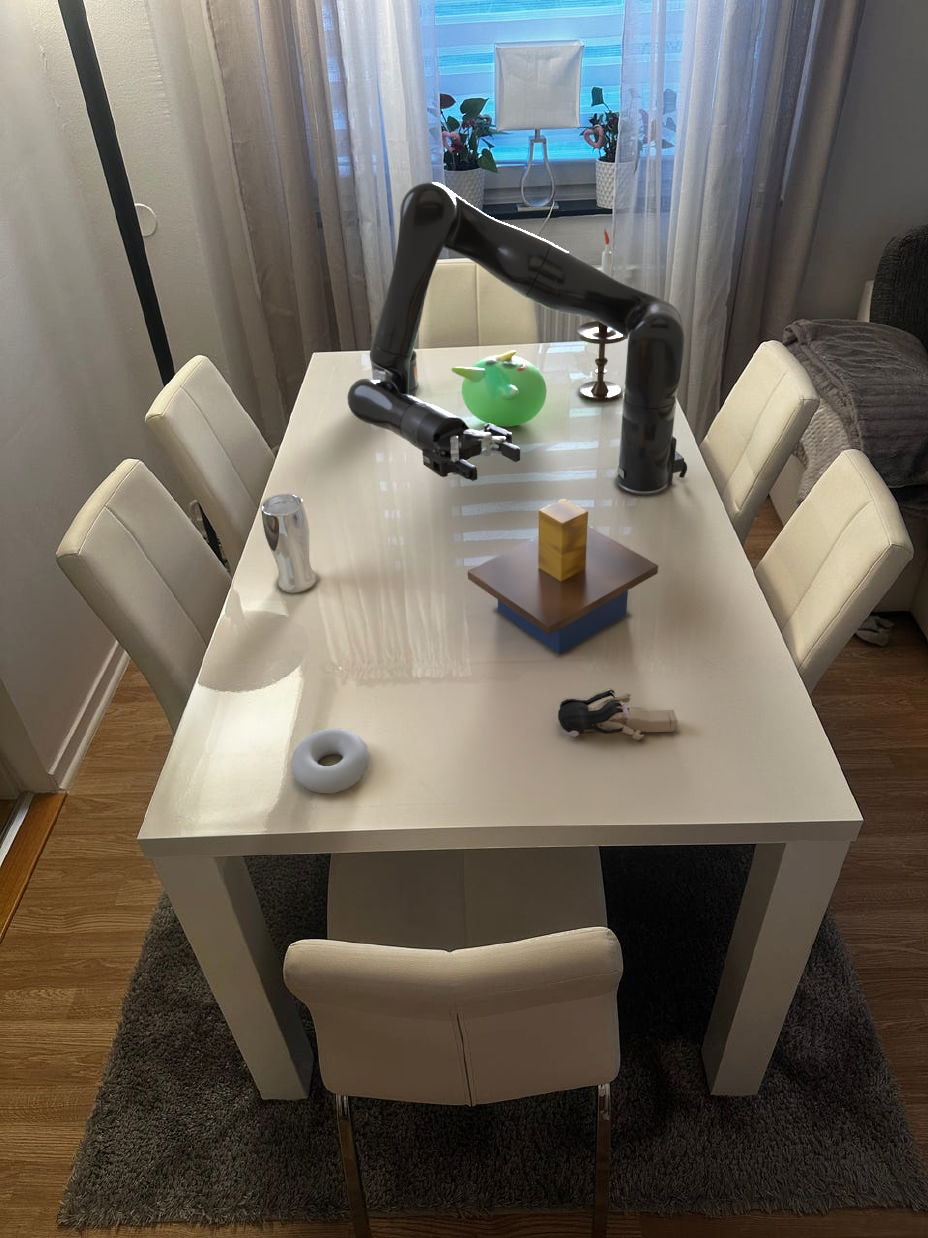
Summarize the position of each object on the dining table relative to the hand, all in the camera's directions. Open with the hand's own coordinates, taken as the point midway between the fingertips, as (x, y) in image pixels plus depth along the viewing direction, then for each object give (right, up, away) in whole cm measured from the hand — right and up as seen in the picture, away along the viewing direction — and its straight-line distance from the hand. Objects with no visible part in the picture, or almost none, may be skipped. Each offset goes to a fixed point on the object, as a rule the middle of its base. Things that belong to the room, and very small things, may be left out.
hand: (497, 465), depth 136 cm
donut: (-22, -43, -21) cm, 53 cm away
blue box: (+10, -23, +2) cm, 25 cm away
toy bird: (+3, +19, +55) cm, 58 cm away
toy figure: (+15, -38, -17) cm, 44 cm away
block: (+9, -16, -3) cm, 19 cm away
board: (+10, -17, -2) cm, 20 cm away
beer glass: (-33, -18, +12) cm, 39 cm away
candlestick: (+25, +27, +65) cm, 75 cm away
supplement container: (-21, +29, +71) cm, 79 cm away
